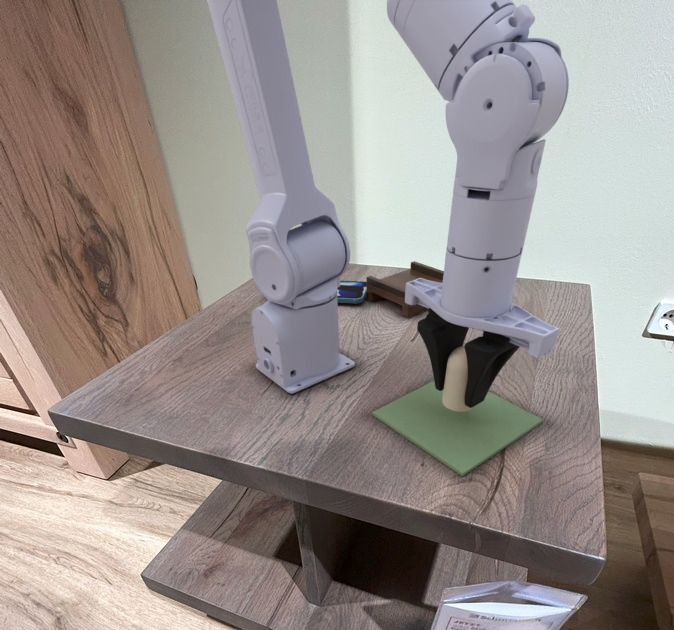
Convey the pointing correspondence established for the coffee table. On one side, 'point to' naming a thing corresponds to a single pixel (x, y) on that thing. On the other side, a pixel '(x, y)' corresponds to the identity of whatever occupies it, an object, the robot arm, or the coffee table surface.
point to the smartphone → (351, 291)
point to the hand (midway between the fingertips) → (459, 394)
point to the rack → (402, 286)
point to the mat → (456, 426)
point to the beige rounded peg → (456, 381)
